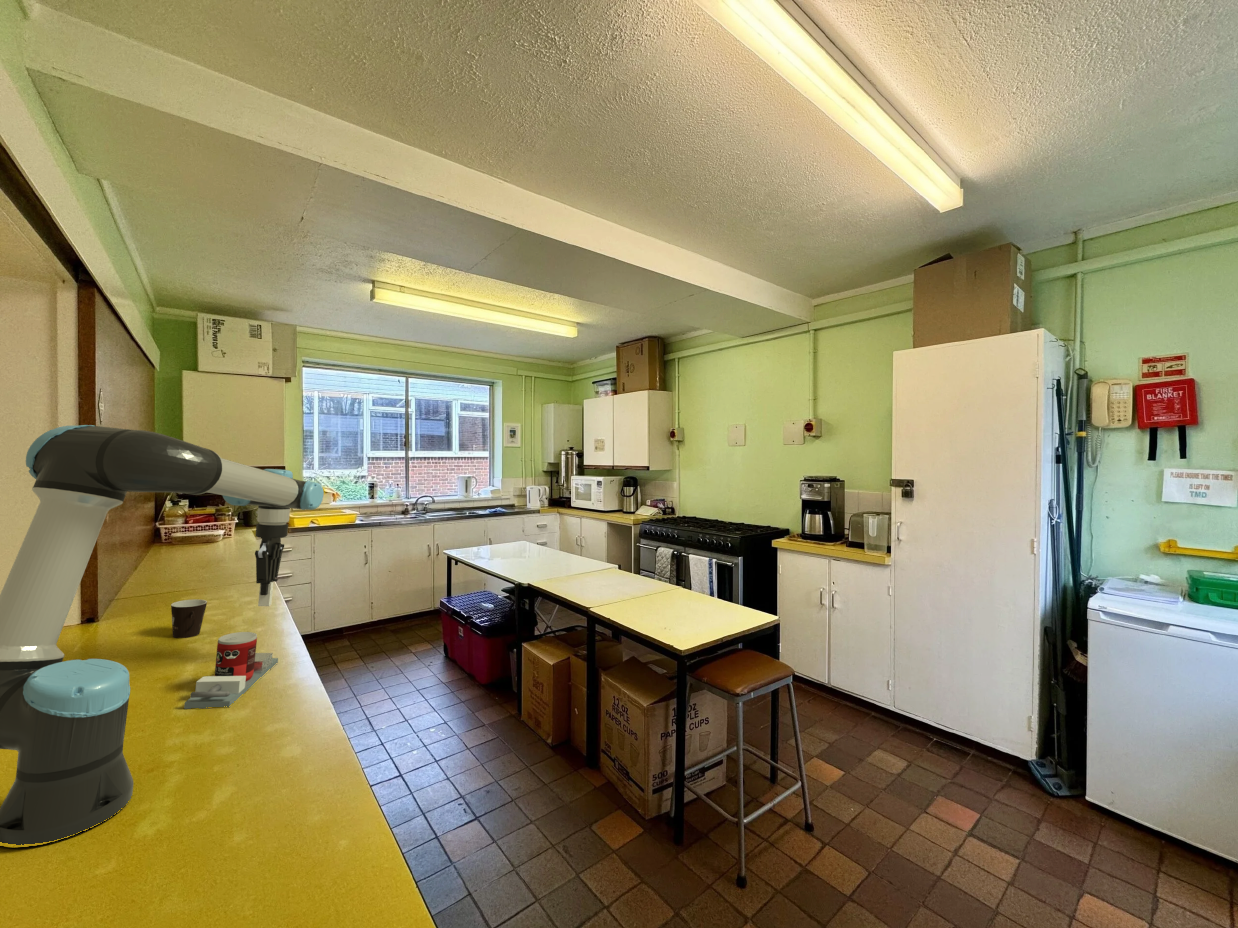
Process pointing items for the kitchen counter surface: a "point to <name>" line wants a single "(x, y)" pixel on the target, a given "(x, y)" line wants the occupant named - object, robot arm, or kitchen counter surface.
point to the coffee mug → (187, 617)
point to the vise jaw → (262, 661)
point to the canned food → (236, 655)
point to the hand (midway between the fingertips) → (264, 605)
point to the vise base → (225, 699)
